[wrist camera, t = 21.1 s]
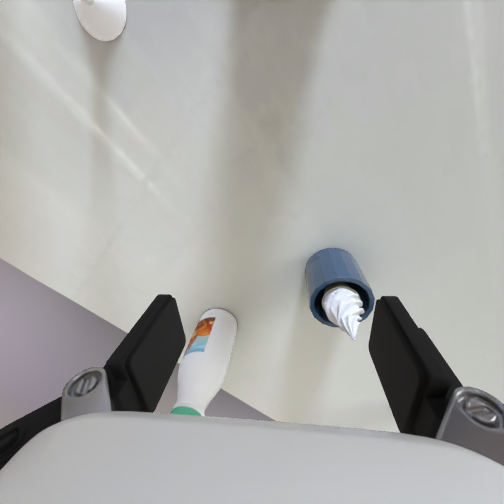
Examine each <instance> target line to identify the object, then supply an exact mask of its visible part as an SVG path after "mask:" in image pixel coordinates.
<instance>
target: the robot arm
mask: <svg viewBox="0 0 504 504" xmlns="http://www.w3.org/2000/svg"><path fill="white" fill-rule="evenodd" d="M185 342H186V338H185V334H184V330H183V326H182V323H181V319H180V315H179V311H178V307H177V303H176V300H175V298H172V296H171V295H158V296H157V297H156V298H155V299H154V301H153V302H152V303H151V304H150V306H149V307H148V308H147V310H146V311H145V312H144V314H143V315H142V316H141V317H140V319H139V320H138V321H137V323H136V324H135V325H134V327H133V328H132V329H131V331H130V332H129V333H128V334H127V336H126V337H125V338H124V340H123V341H122V342H121V344H120V345H119V346H118V348H117V349H116V350H115V351H114V353H113V354H112V355H111V357H110V358H109V359H108V360H107V362H106V365H105V366H104V367H103V368H101V367H92V368H88V369H86V370H83V371H82V372H80V373H78V374H77V375H75V376H74V377H73V378H72V379H71V380H70V381H69V382H68V383H67V384H66V386H65V387H64V389H63V393H62V396H61V397H59V398H57V399H56V400H54V401H52V402H50V403H48V404H46V405H44V406H42V407H41V408H39V409H37V410H35V411H33V412H31V413H29V414H27V415H25V416H24V417H22V418H20V419H18V420H16V421H14V422H12V423H11V424H9V425H7V426H5V427H4V428H2V429H0V504H504V404H503V403H501V402H500V401H499V400H498V399H496V398H495V397H493V396H492V395H490V394H488V393H487V392H484V391H482V390H479V389H477V388H472V387H463V386H462V384H461V383H460V381H459V380H458V378H457V377H456V376H455V374H454V373H453V371H452V370H451V368H450V367H449V365H448V364H447V363H446V361H445V360H444V358H443V357H442V355H441V354H440V352H439V351H438V350H437V348H436V347H435V345H434V344H433V342H432V341H431V339H430V338H429V336H428V335H427V334H426V332H425V331H424V330H423V329H422V328H418V327H417V325H416V324H415V322H414V321H413V319H412V318H411V316H410V315H409V313H408V312H407V310H406V309H405V307H404V306H403V304H402V303H401V301H400V300H399V298H398V297H396V296H382V297H381V299H380V300H379V299H378V300H377V301H376V305H375V311H374V317H373V322H372V328H371V334H370V340H369V352H370V355H371V358H372V360H373V363H374V365H375V368H376V371H377V373H378V376H379V379H380V381H381V384H382V387H383V389H384V392H385V395H386V397H387V400H388V402H389V405H390V408H391V410H392V413H393V416H394V418H395V421H396V424H397V426H398V429H399V431H400V432H401V433H395V432H385V431H375V430H365V429H356V428H344V427H332V426H320V425H309V424H297V423H285V422H272V421H259V420H247V419H234V418H222V417H208V416H195V415H181V414H168V413H167V414H166V413H153V412H154V411H155V409H156V407H157V404H158V402H159V400H160V398H161V396H162V394H163V391H164V389H165V387H166V385H167V383H168V381H169V378H170V376H171V374H172V372H173V370H174V368H175V366H176V363H177V361H178V359H179V357H180V355H181V353H182V350H183V348H184V346H185ZM403 433H405V434H403Z"/></svg>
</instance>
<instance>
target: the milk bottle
mask: <svg viewBox="0 0 504 504" xmlns="http://www.w3.org/2000/svg"><path fill="white" fill-rule="evenodd" d="M237 328H238V325H237V322H236V319H235V318H234V316H233V315H232V314H230V313H229V312H227V311H225V310H222V309H211V310H208V311H206V312H205V313H204V314H203V315H202V316H201V318H200V320H199V322H198V324H197V327H196V329H195V331H194V333H193V336H192V338H191V340H190V342H189V345H188V347H187V349H186V351H185V354H184V356H183V359H182V361H181V364H180V367H179V372H178V397H177V403H176V404H175V405H174V406H173V408H172V411H171V413H170V414H181V415H195V416H205V414H204V411H205V409H206V407H207V406H208V404H209V402H210V401H211V400H212V399H213V397H214V396H215V395H216V394H217V392H218V391H219V390H220V388H221V386H222V384H223V382H224V379H225V376H226V373H227V370H228V366H229V362H230V358H231V354H232V350H233V346H234V342H235V337H236V333H237Z"/></svg>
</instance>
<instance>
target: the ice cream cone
mask: <svg viewBox="0 0 504 504" xmlns="http://www.w3.org/2000/svg"><path fill="white" fill-rule="evenodd" d="M362 304H363V303H362V301H360V297H359V295H358V293H357V292H356V291H355V290H353V289H351V288H350V287H349V286H348V285H347V284H346V283H345V282H335V283H332V284H329V285H327V286H326V289H325V293H324V297H323V299H322V306H323V308H324V310H325V312H326V315H327V317H328V319H329V320H330V321H331V322H333V323H334V324H336V325H337V326H339V328H340V329H341V330H343V331H345V332H346V333H347V334H348V335H349V336H350V337H351V338H352V339H353V340H354V341H355V338H356V332H357V327H358V326H359V325H360V324H361V323H360V322H358V321H360V320H361V319H362V317H360V316H359V315H360V314H364V309H363V308H359V307H362Z"/></svg>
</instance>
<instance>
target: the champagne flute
mask: <svg viewBox="0 0 504 504" xmlns="http://www.w3.org/2000/svg"><path fill="white" fill-rule="evenodd" d="M73 3H74V8H75V12H76V14H77V17H78V19H79V21H80V23H81V24H82V26H83V27H84V29H85V30H86V31H87V32H88V33H89V34H90V35H91V36H93V37H94V38H96V39H98V40H101V41H111V40H114V39H115V38H117V37H118V36H119V35H120V34H121V33H122V31H123V29H124V26H125V23H126V15H127V14H126V3H125V0H73Z"/></svg>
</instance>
